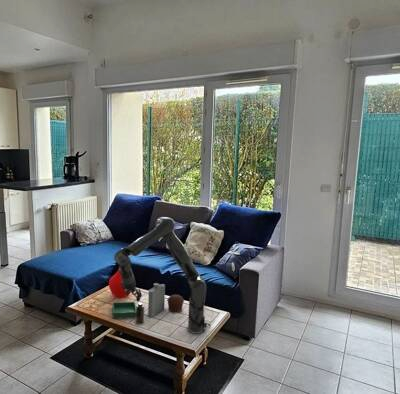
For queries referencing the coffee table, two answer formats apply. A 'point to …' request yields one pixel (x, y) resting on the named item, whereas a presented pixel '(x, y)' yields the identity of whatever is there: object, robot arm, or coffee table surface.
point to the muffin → (175, 303)
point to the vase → (117, 286)
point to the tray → (124, 310)
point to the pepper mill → (140, 313)
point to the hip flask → (156, 299)
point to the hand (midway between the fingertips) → (133, 297)
